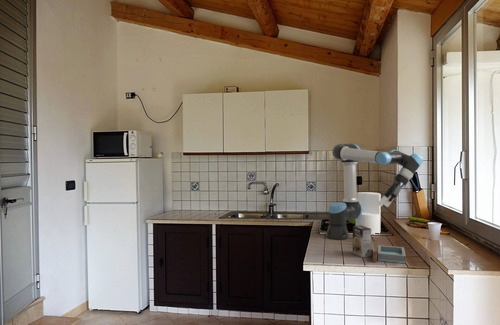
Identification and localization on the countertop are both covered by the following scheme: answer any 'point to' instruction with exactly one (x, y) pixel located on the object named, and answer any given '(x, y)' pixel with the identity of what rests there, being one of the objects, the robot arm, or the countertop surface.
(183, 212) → the countertop surface
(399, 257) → the tray
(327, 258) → the countertop surface
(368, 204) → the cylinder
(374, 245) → the board
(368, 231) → the coffee box
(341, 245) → the countertop surface
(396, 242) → the countertop surface
